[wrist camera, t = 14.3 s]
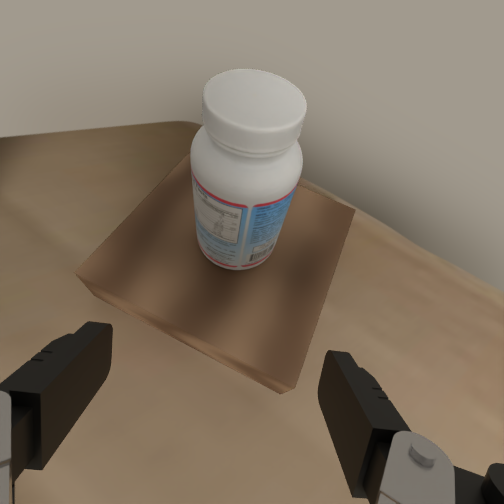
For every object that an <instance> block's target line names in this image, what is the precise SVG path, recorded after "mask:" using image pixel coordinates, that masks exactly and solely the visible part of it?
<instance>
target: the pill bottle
mask: <svg viewBox="0 0 504 504" xmlns="http://www.w3.org/2000/svg"><path fill="white" fill-rule="evenodd" d="M202 102H203V103H202V105H203V112H202V121H203V123H204V125H203V126H202V127H201V128H200V129H199V131H198V132H197V133H196V135H195V137H194V139H193V142H192V146H191V153H190V158H191V161H190V162H191V174H192V185H193V197H194V211H195V221H196V233H197V240H198V243H199V246H200V248H201V250H202V252H203V253H204V255H205V256H206V257H207V258H208V259H209V260H210V261H211V262H213V263H214V264H216V265H218V266H220V267H223V268H226V269H231V270H245V269H250V268H253V267H255V266H258V265H259V264H261V263H262V262H264V261H265V260H266V259H267V258H268V257H269V256H270V254H271V253H272V251H273V249H274V247H275V244H276V241H277V239H278V236H279V233H280V230H281V228H282V225H283V222H284V219H285V216H286V214H287V211H288V208H289V206H290V203H291V200H292V197H293V195H294V192H295V189H296V186H297V184H298V181H299V178H300V174H301V171H302V166H303V157H302V151H301V148H300V145H299V143H298V142H297V139H298V137H299V136H300V133H301V129H302V125H303V121H304V118H305V115H306V111H307V110H306V109H307V104H306V100H305V97H304V95H303V94H302V92H301V91H300V90H299V89H298V88H297V87H296V86H295V85H294V84H292V83H291V82H289V81H288V80H287V79H285V78H283V77H280V76H278V75H276V74H273V73H270V72H267V71H262V70H257V69H245V68H244V69H233V70H228V71H224V72H221V73H219V74H217V75H215V76H213V77H212V78H211V79H210V80H209V81H208V82H207V83H206V85H205V87H204V90H203V96H202Z"/></svg>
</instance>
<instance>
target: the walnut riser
mask: <svg viewBox="0 0 504 504" xmlns="http://www.w3.org/2000/svg"><path fill="white" fill-rule="evenodd" d="M190 153H191V151H190V152H189V153H188V154H187V155H186V156H185V157H184V158H183V159H182V160H181V161H180V162H179V164H178V165H177V166H176V167H175V168H174V169H173V170H172V171H171V172H170V173H169V174H168V175H167V176H166V177H165V178H164V179H163V180H162V181H161V182H160V183H159V184H158V185H157V187H156V188H155V189H154V190H153V191H152V192H151V193H150V194H149V195H148V196H147V197H146V198H145V199H144V200H143V201H142V202H141V203H140V204H139V205H138V206H137V207H136V208H135V210H134V211H133V212H132V213H131V214H130V215H129V216H128V217H127V218H126V219H125V220H124V221H123V222H122V223H121V224H120V225H119V226H118V227H117V228H116V229H115V230H114V231H113V233H112V234H111V235H110V236H109V237H108V238H107V239H106V240H105V241H104V242H103V243H102V244H101V245H100V246H99V247H98V248H97V249H96V250H95V251H94V252H93V253H92V254H91V256H90V257H89V258H88V259H87V260H86V261H85V262H84V263H83V264H82V265H81V266H80V267H79V268H78V269H77V270H76V271H75V272H74V273H75V274H76V275H77V276H78V278H79V279H80V280H81V281H82V282H83V283H84V284H85V286H86V287H87V288H88V289H89V290H90V291H91V292H92V293H93V295H94V296H96V297H98V298H100V299H101V300H103V301H105V302H107V303H109V304H111V305H113V306H115V307H117V308H118V309H120V310H122V311H124V312H126V313H128V314H130V315H132V316H134V317H135V318H137V319H139V320H141V321H143V322H145V323H147V324H149V325H151V326H152V327H154V328H156V329H158V330H160V331H162V332H164V333H166V334H168V335H169V336H171V337H173V338H175V339H177V340H179V341H181V342H183V343H185V344H186V345H188V346H190V347H192V348H194V349H196V350H198V351H200V352H202V353H203V354H205V355H207V356H209V357H211V358H213V359H215V360H217V361H219V362H220V363H222V364H224V365H226V366H228V367H230V368H232V369H234V370H236V371H237V372H239V373H241V374H243V375H245V376H247V377H249V378H251V379H253V380H254V381H256V382H258V383H260V384H262V385H264V386H266V387H268V388H270V389H271V390H273V391H275V392H277V393H279V394H282V393H285V392H287V391H289V390H292V389H294V388H295V387H296V384H297V381H298V378H299V375H300V372H301V369H302V366H303V363H304V360H305V357H306V354H307V351H308V348H309V345H310V342H311V339H312V337H313V334H314V331H315V328H316V325H317V322H318V319H319V316H320V313H321V310H322V307H323V304H324V301H325V298H326V295H327V292H328V289H329V286H330V284H331V281H332V278H333V275H334V272H335V269H336V266H337V263H338V260H339V257H340V254H341V251H342V248H343V245H344V242H345V239H346V236H347V233H348V231H349V228H350V225H351V222H352V219H353V216H354V213H355V209H353V208H350V207H348V206H346V205H343V204H341V203H339V202H336V201H334V200H332V199H329V198H327V197H325V196H322V195H320V194H318V193H315V192H313V191H311V190H308V189H306V188H304V187H301V186H299V185H297V186H296V189H295V192H294V195H293V197H292V200H291V203H290V206H289V208H288V211H287V214H286V216H285V219H284V222H283V225H282V228H281V230H280V233H279V236H278V239H277V241H276V244H275V247H274V249H273V251H272V253H271V254H270V256H269V257H268V258H267V259H266V260H265V261H264V262H262V263H261V264H259V265H258V266H255V267H253V268H250V269H245V270H231V269H226V268H223V267H220V266H218V265H216V264H214V263H213V262H211V261H210V260H209V259H208V258H207V257H206V256H205V255H204V253H203V252H202V250H201V248H200V246H199V243H198V240H197V233H196V221H195V211H194V197H193V185H192V174H191V162H190V161H191V158H190Z"/></svg>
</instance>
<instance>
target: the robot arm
mask: <svg viewBox="0 0 504 504" xmlns="http://www.w3.org/2000/svg"><path fill="white" fill-rule="evenodd" d="M112 334H113V328H112V325H111V324H108V323H99V322H91V321H89V322H87V323H85V324H84V325H83V326H82V327H81V328H80V329H79V330H77V331H76V332H75V333H74V334H67V335H64V336H62V337H60V338H58V339H56V340H53V341H52V342H51V343H49V344H48V345H47V346H46V347H45V348H43V349H42V350H41V352H38V353H37V354H36V355H35V356H34V357H32V358H31V360H30V361H27V362H26V363H25V364H24V365H22V366H21V367H20V368H19V369H18V370H16V371H15V372H14V373H13V374H11V375H10V376H9V377H8V378H7V379H5V380H4V381H3V382H2V383H0V504H15V480H16V479H17V478H18V477H19V475H20V474H21V473H22V471H23V470H24V469H33V470H43V468H44V467H45V465H46V464H47V462H48V461H49V460H50V458H51V457H52V455H53V454H54V453H55V451H56V450H57V448H58V447H59V445H60V444H61V443H62V441H63V440H64V438H65V437H66V435H67V434H68V433H69V431H70V430H71V428H72V427H73V426H74V424H75V423H76V421H77V420H78V418H79V417H80V416H81V414H82V413H83V411H84V410H85V408H86V407H87V406H88V404H89V403H90V401H91V400H92V399H93V397H94V396H95V394H96V393H97V391H98V390H99V389H100V387H101V386H102V384H103V383H104V381H105V380H106V378H107V376H108V373H109V370H110V367H111V357H112ZM318 400H319V405H320V407H321V410H322V413H323V416H324V419H325V421H326V424H327V427H328V430H329V433H330V436H331V438H332V441H333V444H334V447H335V450H336V453H337V455H338V458H339V461H340V464H341V467H342V469H343V472H344V475H345V478H346V481H347V484H348V486H349V489H350V492H351V495H352V497H355V498H367V499H368V501H369V503H370V504H504V464H501V463H495V464H492V465H490V466H489V468H488V470H487V473H486V475H485V477H483V476H480V475H478V474H475V473H472V472H469V471H467V470H464V469H461V468H458V467H456V466H453V464H452V462H451V461H450V459H449V458H448V456H447V455H446V454H445V453H444V452H443V451H442V450H441V449H440V448H439V447H438V446H437V445H436V444H434V443H433V442H432V441H430V440H429V439H427V438H425V437H423V436H421V435H419V434H417V433H414V432H412V431H411V430H410V429H409V427H408V426H407V424H406V423H405V421H404V420H403V418H402V417H401V416H400V414H399V413H398V411H397V410H396V408H395V407H394V405H393V404H392V403H391V401H390V400H388V397H387V395H386V394H385V392H384V391H382V388H381V387H380V385H379V384H378V382H377V381H376V379H375V378H374V377H373V376H372V375H371V374H369V373H368V372H367V371H366V370H365V369H363V368H360V367H358V365H357V364H356V362H355V361H354V359H353V358H352V356H351V355H350V353H348V352H340V351H332V350H328V351H327V353H326V355H325V360H324V364H323V368H322V372H321V377H320V381H319V385H318Z"/></svg>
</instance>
